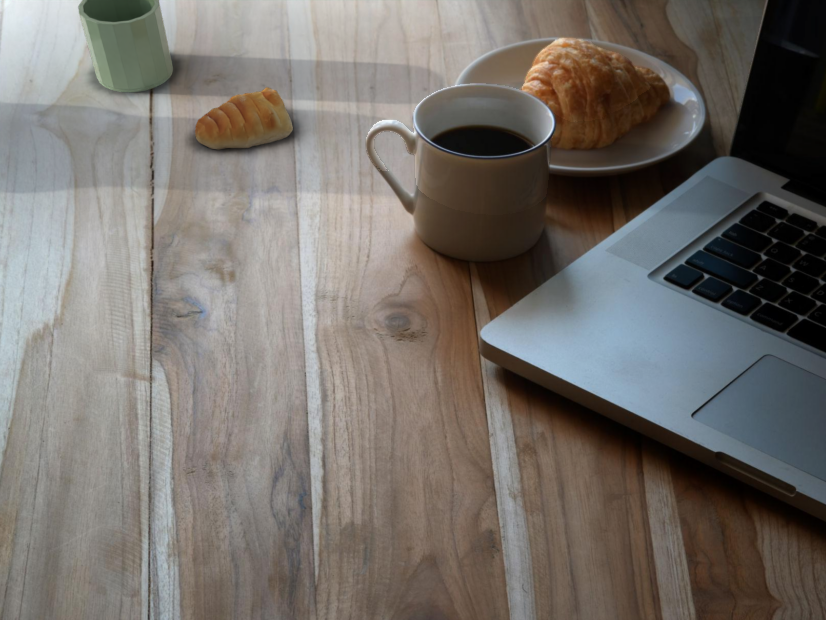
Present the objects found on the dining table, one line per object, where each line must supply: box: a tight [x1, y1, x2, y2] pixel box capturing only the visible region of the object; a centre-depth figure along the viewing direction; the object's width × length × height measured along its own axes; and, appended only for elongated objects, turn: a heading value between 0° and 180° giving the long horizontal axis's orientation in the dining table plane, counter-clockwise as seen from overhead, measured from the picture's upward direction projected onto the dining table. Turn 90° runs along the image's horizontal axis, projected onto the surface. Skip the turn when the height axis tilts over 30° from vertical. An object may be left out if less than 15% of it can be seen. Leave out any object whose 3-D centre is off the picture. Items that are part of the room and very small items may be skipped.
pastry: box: [194, 86, 294, 150], centre depth 93 cm, size 9×7×4 cm
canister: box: [77, 0, 174, 93], centre depth 99 cm, size 8×8×8 cm
